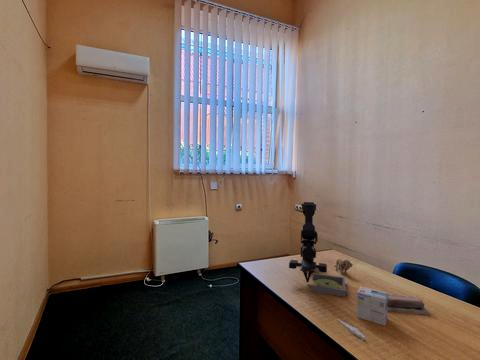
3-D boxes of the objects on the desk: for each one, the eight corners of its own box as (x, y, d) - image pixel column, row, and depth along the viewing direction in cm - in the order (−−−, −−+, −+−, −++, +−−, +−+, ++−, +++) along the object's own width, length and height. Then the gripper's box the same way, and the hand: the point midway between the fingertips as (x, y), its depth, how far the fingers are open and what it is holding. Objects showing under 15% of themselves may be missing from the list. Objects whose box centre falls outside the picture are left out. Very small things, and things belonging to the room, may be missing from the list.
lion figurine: (353, 276, 149) (354, 260, 149) (345, 277, 148) (345, 261, 148) (337, 267, 164) (338, 252, 163) (330, 267, 162) (330, 253, 162)
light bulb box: (387, 318, 109) (388, 292, 108) (385, 326, 103) (386, 299, 102) (359, 310, 115) (359, 285, 114) (355, 317, 109) (356, 291, 108)
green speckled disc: (312, 288, 135) (312, 284, 135) (319, 280, 144) (319, 276, 144) (335, 294, 129) (335, 290, 128) (340, 285, 138) (341, 282, 138)
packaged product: (383, 300, 114) (376, 290, 124) (383, 311, 114) (375, 300, 124) (430, 305, 111) (419, 293, 121) (430, 316, 111) (419, 304, 121)
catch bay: (312, 278, 146) (312, 273, 146) (344, 283, 141) (344, 277, 141) (310, 291, 131) (310, 285, 131) (345, 296, 126) (345, 290, 126)
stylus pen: (368, 340, 94) (368, 335, 94) (362, 342, 94) (362, 337, 94) (338, 319, 109) (338, 315, 109) (333, 321, 108) (333, 316, 108)
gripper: (287, 255, 134) (287, 286, 135) (327, 259, 128) (326, 291, 129) (290, 248, 145) (290, 277, 146) (327, 252, 139) (326, 282, 140)
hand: (307, 282), depth 140 cm, fingers closed
